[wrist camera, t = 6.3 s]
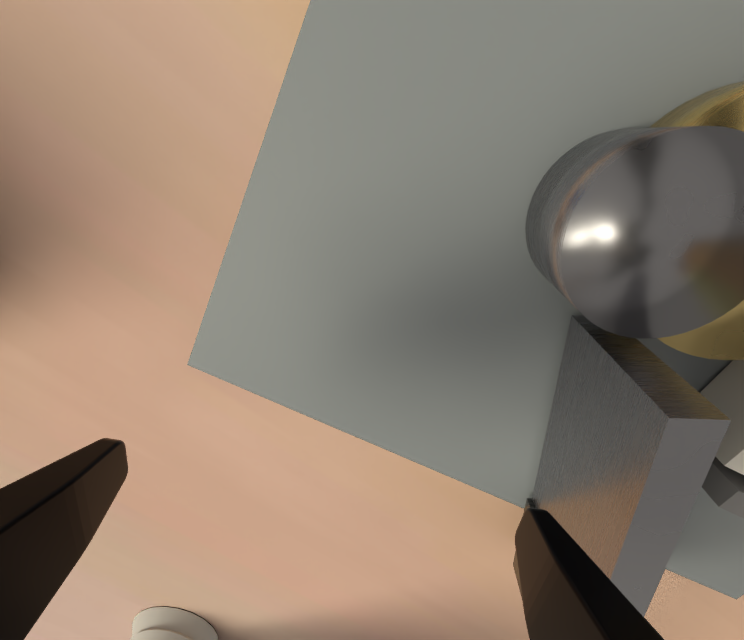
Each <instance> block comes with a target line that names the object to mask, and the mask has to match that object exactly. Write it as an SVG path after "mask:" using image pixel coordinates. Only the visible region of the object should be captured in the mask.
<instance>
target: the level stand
mask: <svg viewBox="0 0 744 640" xmlns="http://www.w3.org/2000/svg"><path fill="white" fill-rule="evenodd" d="M743 81H744V0H311V1H310V4H309V7H308V9H307V12H306V15H305V18H304V21H303V24H302V27H301V30H300V33H299V36H298V39H297V42H296V45H295V48H294V51H293V54H292V57H291V60H290V63H289V66H288V69H287V72H286V75H285V77H284V80H283V83H282V86H281V89H280V92H279V95H278V98H277V101H276V104H275V107H274V110H273V113H272V116H271V119H270V122H269V125H268V128H267V131H266V134H265V137H264V140H263V143H262V146H261V148H260V151H259V154H258V157H257V160H256V163H255V166H254V169H253V172H252V175H251V178H250V181H249V184H248V187H247V190H246V193H245V196H244V199H243V202H242V205H241V208H240V211H239V214H238V216H237V219H236V222H235V225H234V228H233V231H232V234H231V237H230V240H229V243H228V246H227V249H226V252H225V255H224V258H223V261H222V264H221V267H220V270H219V273H218V276H217V279H216V282H215V285H214V287H213V290H212V293H211V296H210V299H209V302H208V305H207V308H206V311H205V314H204V317H203V320H202V323H201V326H200V329H199V332H198V335H197V338H196V341H195V344H194V347H193V350H192V353H191V355H190V358H189V361H188V364H187V365H189V366H191V367H194V368H196V369H198V370H201V371H203V372H205V373H208V374H210V375H212V376H215V377H217V378H219V379H222V380H224V381H226V382H229V383H231V384H233V385H236V386H238V387H240V388H243V389H245V390H247V391H250V392H252V393H254V394H257V395H259V396H261V397H264V398H266V399H269V400H271V401H273V402H276V403H278V404H280V405H283V406H285V407H287V408H290V409H292V410H294V411H297V412H299V413H301V414H304V415H306V416H308V417H311V418H313V419H315V420H318V421H320V422H322V423H325V424H327V425H329V426H332V427H334V428H336V429H339V430H341V431H343V432H346V433H348V434H350V435H353V436H355V437H358V438H360V439H362V440H365V441H367V442H369V443H372V444H374V445H376V446H379V447H381V448H383V449H386V450H388V451H390V452H393V453H395V454H397V455H400V456H402V457H404V458H407V459H409V460H411V461H414V462H416V463H418V464H421V465H423V466H425V467H428V468H430V469H432V470H435V471H437V472H439V473H442V474H444V475H447V476H449V477H451V478H454V479H456V480H458V481H461V482H463V483H465V484H468V485H470V486H472V487H475V488H477V489H479V490H482V491H484V492H486V493H489V494H491V495H493V496H496V497H498V498H500V499H503V500H505V501H507V502H510V503H512V504H514V505H517V506H519V507H521V508H524V509H525V504H526V499H527V498H532V495H533V491H534V486H535V481H536V477H537V472H538V468H539V463H540V458H541V454H542V449H543V444H544V440H545V435H546V430H547V426H548V421H549V416H550V412H551V407H552V402H553V398H554V393H555V389H556V384H557V379H558V375H559V370H560V365H561V361H562V356H563V351H564V347H565V342H566V337H567V333H568V328H569V323H570V319H571V315H583V314H582V313H581V312H580V311H579V310H577V309H576V308H575V307H574V306H573V305H572V304H571V303H570V302H569V301H568V300H567V299H566V298H565V297H564V296H563V295H562V294H561V293H560V292H559V291H558V290H557V289H556V288H555V287H554V286H553V285H552V284H551V283H550V282H549V281H548V280H547V279H546V278H545V277H544V276H543V275H542V274H541V273H540V272H539V270H538V269H537V268H536V266H535V265H534V263H533V261H532V259H531V257H530V254H529V251H528V248H527V243H526V233H525V226H526V217H527V212H528V208H529V205H530V202H531V199H532V196H533V194H534V192H535V190H536V188H537V186H538V184H539V183H540V181H541V180H542V178H543V176H544V175H545V174H546V173H547V171H548V170H549V169H550V168H551V166H552V165H553V164H554V163H555V162H556V161H557V160H558V159H559V158H560V157H561V156H563V155H564V154H565V153H566V152H568V151H569V150H570V149H571V148H573V147H574V146H576V145H578V144H579V143H581V142H582V141H584V140H587V139H589V138H591V137H593V136H595V135H598V134H601V133H604V132H607V131H612V130H617V129H626V128H649V127H650V126H652V125H653V124H654V123H655V122H657V121H658V120H659V119H661V118H662V117H663V116H665V115H666V114H667V113H668V112H670V111H672V110H673V109H675V108H676V107H678V106H680V105H681V104H683V103H685V102H686V101H688V100H690V99H692V98H694V97H697V96H699V95H701V94H703V93H705V92H707V91H710V90H713V89H716V88H719V87H722V86H725V85H729V84H733V83H738V82H743ZM636 339H637V340H639V341H640V342H641V343H642V344H643V345H644V346H646V347H647V348H648V349H649V350H650V351H651V352H653V353H654V354H655V355H656V356H657V357H658V358H660V359H661V360H662V361H663V362H664V363H665V364H667V365H668V366H669V367H670V368H671V369H672V370H674V371H675V372H676V373H677V374H678V375H679V376H681V377H682V378H683V379H684V380H685V381H686V382H688V383H689V384H690V385H691V386H692V387H693V388H694V389H696V390H697V391H698V392H699V393H700V392H701V391H702V390H703V389H704V388H705V387H706V386H707V385H708V384H709V383H710V382H711V381H712V380H713V379H714V378H715V377H716V376H717V375H718V374H719V373H720V372H722V371H723V370H724V369H725V368H726V367H727V366H728V365H729V364H730V363H731V362H732V361H733V360H717V359H707V358H702V357H697V356H692V355H689V354H686V353H684V352H681V351H678V350H676V349H674V348H672V347H670V346H668V345H666V344H664V343H663V342H662V341H660V340H659V339H657V338H649V339H641V338H636ZM665 569H667V570H669V571H671V572H674V573H676V574H678V575H681V576H683V577H685V578H688V579H690V580H692V581H695V582H697V583H699V584H702V585H704V586H706V587H709V588H711V589H713V590H716V591H718V592H721V593H723V594H725V595H728V596H730V597H732V598H735V599H738V598H739V597H741V596H742V595H744V475H743V474H740V473H738V472H736V471H734V470H732V469H730V468H728V467H726V466H724V465H723V464H722V463H721V462H720V461H719V460H718V459H717V458H716V457H715V458H714V460H713V462H712V465H711V467H710V469H709V471H708V474H707V476H706V478H705V480H704V483H703V485H702V487H701V489H700V492H699V494H698V496H697V498H696V501H695V503H694V505H693V507H692V510H691V512H690V514H689V516H688V519H687V521H686V523H685V525H684V528H683V530H682V532H681V534H680V537H679V539H678V541H677V543H676V546H675V548H674V550H673V553H672V555H671V557H670V559H669V562H668V564H667V566H666V568H665Z"/></svg>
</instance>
